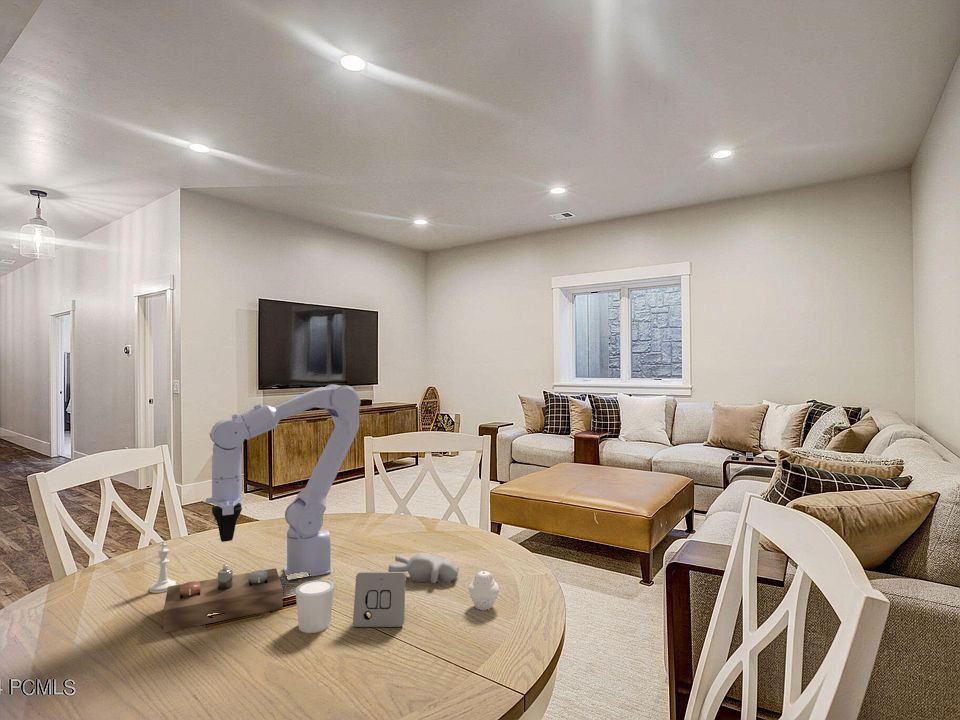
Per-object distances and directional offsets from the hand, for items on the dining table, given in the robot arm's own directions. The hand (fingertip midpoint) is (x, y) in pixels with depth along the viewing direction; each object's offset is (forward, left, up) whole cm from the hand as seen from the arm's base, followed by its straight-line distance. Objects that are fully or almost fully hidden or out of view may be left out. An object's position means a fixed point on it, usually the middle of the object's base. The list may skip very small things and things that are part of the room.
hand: (226, 540), depth 110 cm
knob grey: (-5, +9, -10) cm, 15 cm away
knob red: (+6, +9, -10) cm, 15 cm away
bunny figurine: (-40, +14, -11) cm, 43 cm away
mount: (0, +9, -10) cm, 14 cm away
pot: (0, +9, -6) cm, 11 cm away
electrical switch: (-25, +28, -11) cm, 39 cm away
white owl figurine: (-45, +32, -11) cm, 56 cm away
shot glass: (-14, +24, -11) cm, 30 cm away
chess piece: (+12, -7, -11) cm, 17 cm away
